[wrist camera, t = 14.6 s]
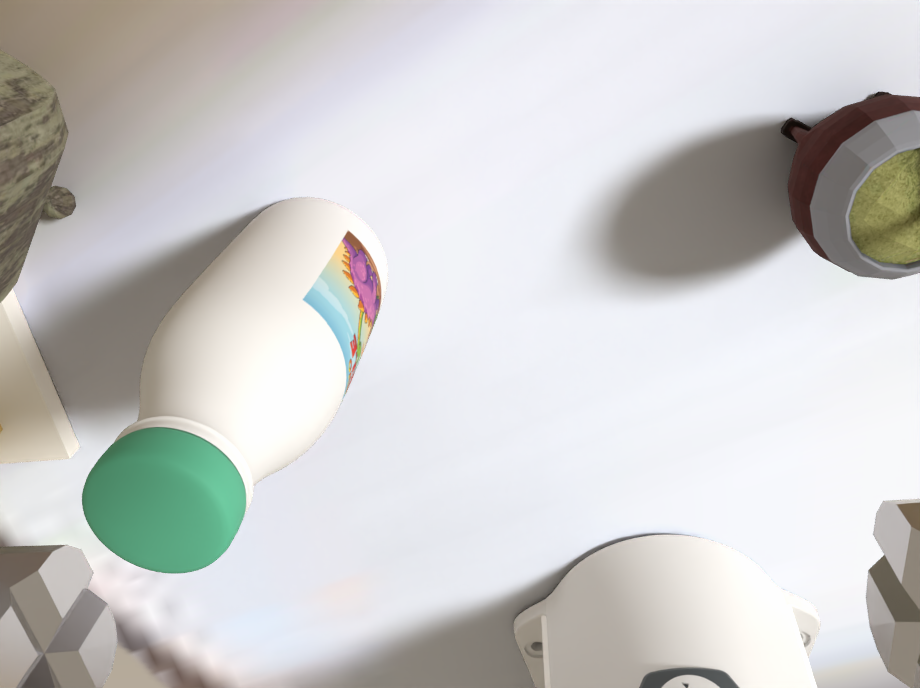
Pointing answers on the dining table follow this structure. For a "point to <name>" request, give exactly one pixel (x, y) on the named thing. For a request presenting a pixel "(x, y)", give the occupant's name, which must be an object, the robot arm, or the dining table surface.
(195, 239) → the dining table surface
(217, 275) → the milk bottle
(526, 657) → the robot arm
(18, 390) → the gear board
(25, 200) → the tabletop clock
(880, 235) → the mate gourd
